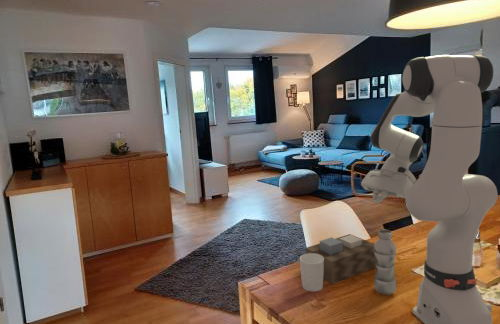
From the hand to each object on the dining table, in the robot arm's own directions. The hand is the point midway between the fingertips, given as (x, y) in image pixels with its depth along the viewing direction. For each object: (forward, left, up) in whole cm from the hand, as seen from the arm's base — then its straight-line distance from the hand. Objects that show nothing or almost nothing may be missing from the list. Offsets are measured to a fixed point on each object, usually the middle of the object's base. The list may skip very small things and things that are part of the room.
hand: (375, 201), depth 136 cm
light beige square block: (-6, +11, -16) cm, 20 cm away
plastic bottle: (-26, +6, -22) cm, 35 cm away
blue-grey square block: (-11, +19, -15) cm, 26 cm away
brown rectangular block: (-8, +15, -22) cm, 28 cm away
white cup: (-21, +28, -22) cm, 41 cm away
